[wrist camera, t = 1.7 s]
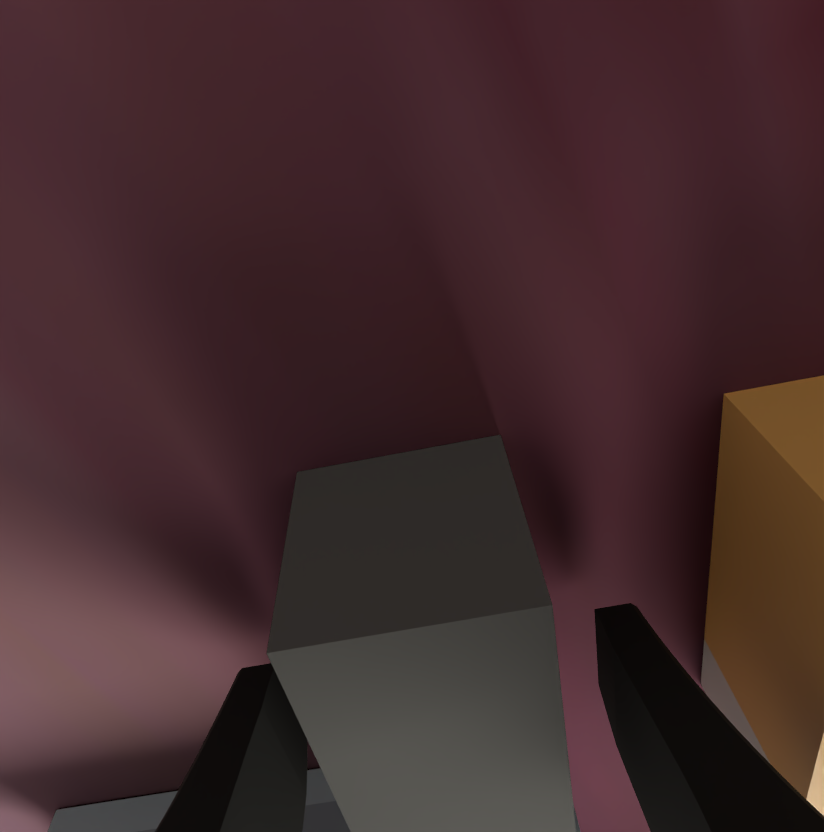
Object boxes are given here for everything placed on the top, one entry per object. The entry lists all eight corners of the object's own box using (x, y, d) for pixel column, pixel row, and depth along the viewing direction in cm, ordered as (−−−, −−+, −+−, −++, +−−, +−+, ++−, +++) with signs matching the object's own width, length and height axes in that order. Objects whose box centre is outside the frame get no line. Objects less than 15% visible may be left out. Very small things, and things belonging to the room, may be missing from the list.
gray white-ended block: (296, 471, 11) (266, 653, 8) (500, 434, 11) (552, 604, 7) (388, 732, 15) (393, 921, 12) (537, 708, 14) (582, 895, 11)
